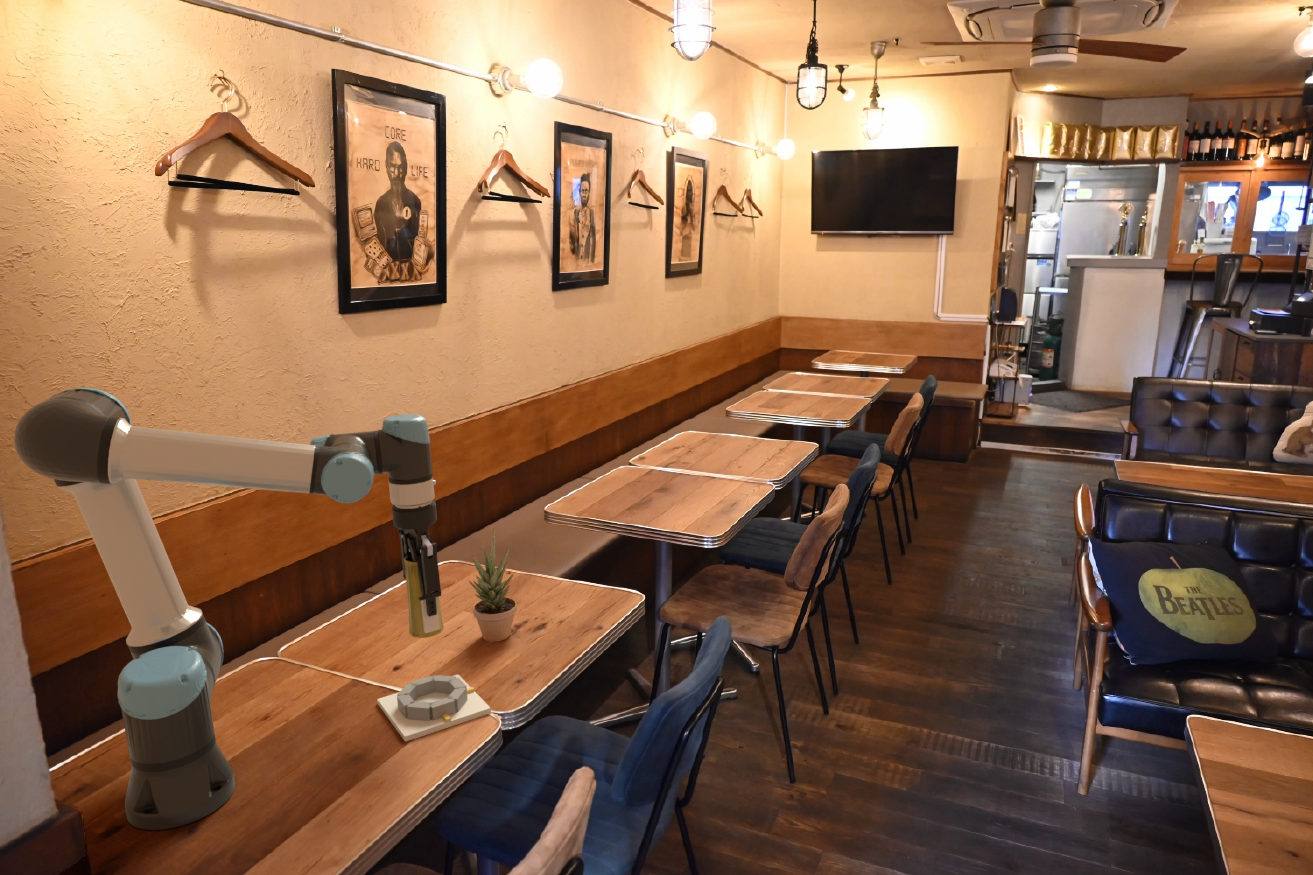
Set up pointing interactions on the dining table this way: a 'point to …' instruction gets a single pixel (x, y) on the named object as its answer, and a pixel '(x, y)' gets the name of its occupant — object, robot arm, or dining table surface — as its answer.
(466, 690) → the socket
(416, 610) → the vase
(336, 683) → the dining table surface
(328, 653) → the dining table surface
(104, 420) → the robot arm
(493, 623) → the potted plant
